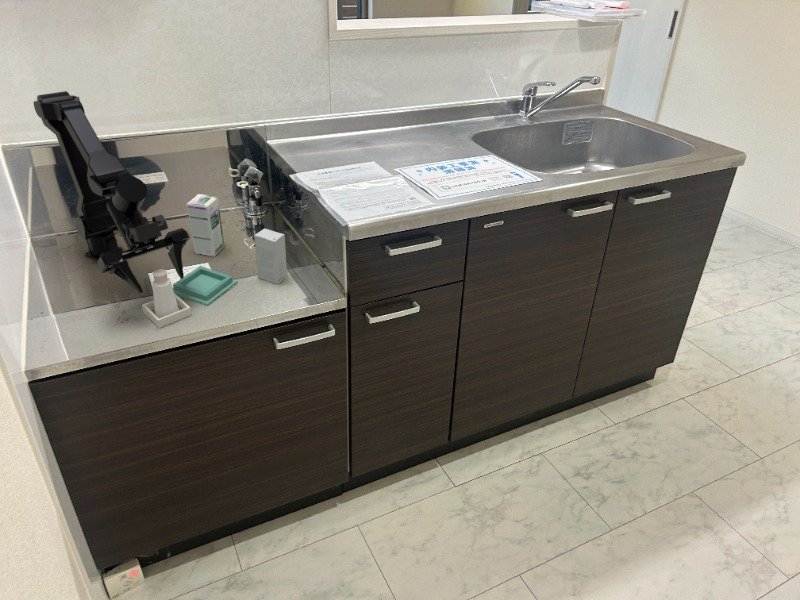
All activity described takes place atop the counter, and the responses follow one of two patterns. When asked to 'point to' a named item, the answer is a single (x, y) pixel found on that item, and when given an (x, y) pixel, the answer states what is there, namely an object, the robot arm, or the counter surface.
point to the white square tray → (169, 318)
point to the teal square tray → (203, 285)
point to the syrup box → (205, 224)
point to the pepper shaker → (163, 294)
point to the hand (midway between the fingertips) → (162, 285)
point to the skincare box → (271, 255)
